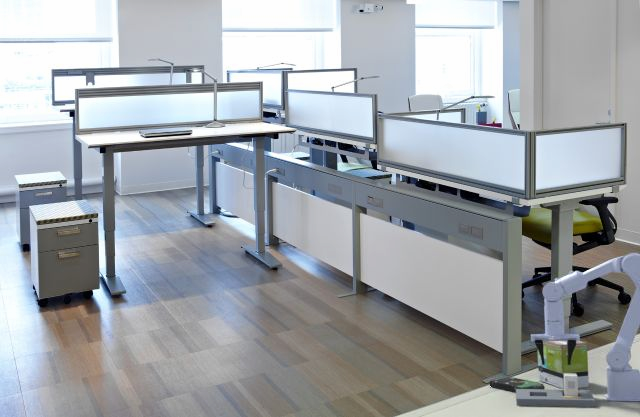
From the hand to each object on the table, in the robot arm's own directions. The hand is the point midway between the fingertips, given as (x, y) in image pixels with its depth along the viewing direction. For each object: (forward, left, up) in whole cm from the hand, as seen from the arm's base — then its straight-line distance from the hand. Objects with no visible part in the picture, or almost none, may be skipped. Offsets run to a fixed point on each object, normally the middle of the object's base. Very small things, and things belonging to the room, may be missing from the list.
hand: (556, 364), depth 240 cm
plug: (-4, +9, -9) cm, 13 cm away
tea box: (-3, -17, -10) cm, 20 cm away
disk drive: (+12, -8, -10) cm, 18 cm away
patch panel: (+2, +9, -9) cm, 13 cm away
